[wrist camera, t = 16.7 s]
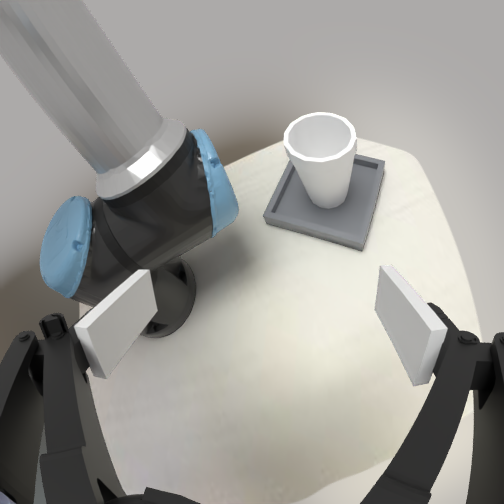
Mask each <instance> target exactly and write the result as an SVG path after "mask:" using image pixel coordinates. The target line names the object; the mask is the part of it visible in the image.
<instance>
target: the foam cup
mask: <svg viewBox="0 0 504 504" xmlns="http://www.w3.org/2000/svg"><path fill="white" fill-rule="evenodd" d="M284 146H285V149H286V153H287V156H288V157H289V159H290V160H291V162H292V163H293V165H294V167H295V169H296V171H297V173H298V175H299V177H300V179H301V181H302V183H303V185H304V187H305V189H306V191H307V193H308V195H309V197H310V199H311V200H312V202H313V203H314V204H315V205H317V206H319V207H320V208H327V209H330V208H334V207H338V206H339V205H340V204H342V203H343V202H344V201H345V198H346V196H347V193H348V188H349V183H350V178H351V172H352V167H353V161H354V156H355V154H356V151H357V139H356V134H355V129H354V127H353V125H352V124H350V122H348V121H347V119H346V118H343V117H341V116H338V115H336V114H333V113H323V112H316V113H312V114H308V115H303V116H301V117H300V118H298V119H297V120H295V121H293V122H292V123H291V124H290V125H289V126H288V128H287V130H286V131H285V132H284Z"/></svg>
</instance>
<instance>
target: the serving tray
mask: <svg viewBox="0 0 504 504" xmlns="http://www.w3.org/2000/svg"><path fill="white" fill-rule="evenodd" d="M384 166H385V161H383V160H379V159H375V158H370V157H366V156H362V155H357V154H355V156H354V161H353V167H352V172H351V178H350V183H349V188H348V193H347V196H346V198H345V201H344V202H343V203H342V204H340V205H339V206H338V207H334V208H330V209H327V208H320V207H319V206H317V205H315V204H314V203H313V202H312V200H311V199H310V197H309V195H308V193H307V191H306V189H305V187H304V185H303V183H302V181H301V179H300V177H299V175H298V173H297V171H296V169H295V167H294V165H293V163H292V162H291V160H289V162H288V164H287V167H286V169H285V171H284V173H283V175H282V177H281V179H280V181H279V183H278V185H277V187H276V189H275V191H274V194H273V196H272V198H271V200H270V202H269V204H268V206H267V208H266V210H265V212H264V214H263V217H264V219H265V221H266V223H267V224H270V225H274V226H277V227H281V228H285V229H288V230H292V231H295V232H299V233H302V234H306V235H309V236H313V237H316V238H320V239H323V240H326V241H330V242H333V243H337V244H340V245H343V246H347V247H350V248H353V249H357V250H360V251H362V250H363V247H364V244H365V241H366V237H367V234H368V230H369V227H370V224H371V220H372V216H373V213H374V209H375V205H376V201H377V198H378V194H379V190H380V185H381V181H382V177H383V173H384Z"/></svg>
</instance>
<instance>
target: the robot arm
mask: <svg viewBox="0 0 504 504" xmlns="http://www.w3.org/2000/svg"><path fill="white" fill-rule="evenodd" d="M0 55H1V56H2V58H3V59H4V60H5V62H6V63H7V65H8V66H9V67H10V68H11V70H12V71H13V73H14V74H15V75H16V77H17V78H18V79H19V81H20V82H21V83H22V85H23V86H24V87H25V88H26V90H27V91H28V92H29V93H30V95H31V96H32V97H33V99H34V100H35V101H36V102H37V103H38V104H39V106H40V107H41V108H42V110H43V111H44V112H45V113H46V114H47V116H48V117H49V118H50V119H51V120H52V122H53V123H54V124H55V125H56V127H58V129H59V130H60V131H61V132H62V134H63V135H64V136H65V137H66V138H67V139H68V141H69V142H71V144H72V145H73V146H74V147H75V149H76V150H77V151H78V152H79V153H80V154H81V155H82V157H83V158H84V159H85V160H86V161H87V162H88V163H89V164H90V165H91V166H92V168H93V169H94V170H95V171H96V173H97V177H96V192H97V195H98V196H99V197H98V198H97V199H96V200H95V201H93V202H91V203H90V201H89V200H88V199H87V198H85V197H81V196H74V197H71V198H70V199H68V200H67V201H65V202H64V203H63V204H62V205H61V206H60V208H59V209H58V210H57V212H56V213H55V215H54V216H53V218H52V220H51V222H50V224H49V226H48V228H47V230H46V234H45V236H44V240H43V243H42V248H41V253H40V270H41V274H42V278H43V280H44V281H45V283H46V284H47V285H48V286H49V287H50V288H51V289H53V290H55V291H57V292H60V293H61V294H62V295H63V296H64V297H66V298H71V299H73V300H76V301H78V302H81V303H83V304H86V305H89V306H91V307H94V308H92V309H90V310H89V311H88V312H87V313H86V314H85V315H83V316H82V317H81V318H80V319H79V320H78V321H77V322H76V323H75V324H74V325H72V326H71V327H70V328H69V329H68V327H67V324H66V321H65V319H64V316H63V315H62V314H61V313H54V314H50V315H47V316H46V317H44V318H43V319H42V320H40V322H39V325H40V327H41V330H42V332H43V334H44V337H45V340H37V337H36V335H35V333H34V332H33V331H23V332H21V333H19V335H17V336H16V337H15V339H14V340H13V342H12V343H11V345H10V347H9V349H8V351H7V352H6V354H5V356H4V358H3V360H2V362H1V364H0V504H33V502H34V494H35V481H36V472H37V463H38V456H39V449H40V442H41V437H42V432H43V426H44V423H45V435H46V445H47V454H42V455H41V456H40V469H41V476H42V482H43V487H44V493H45V498H46V503H47V504H200V503H198V502H195V501H193V500H190V499H188V498H186V497H183V496H181V495H177V494H173V493H168V492H164V491H160V490H156V489H152V488H149V487H146V490H145V492H144V494H136V495H126V494H125V492H124V490H123V489H122V487H121V485H120V482H119V480H118V477H117V475H116V472H115V469H114V467H113V464H112V461H111V458H110V455H109V453H108V450H107V447H106V443H105V440H104V437H103V434H102V430H101V427H100V424H99V420H98V416H97V413H96V409H95V405H94V401H93V396H92V392H91V387H90V383H89V378H88V375H87V373H86V370H87V369H88V368H89V366H90V368H91V371H92V373H93V375H94V376H96V377H100V378H104V379H107V378H108V377H109V375H110V374H111V372H112V371H113V370H114V368H115V367H116V366H117V364H118V363H119V361H120V360H121V359H122V357H123V356H124V355H125V353H126V352H127V351H128V349H129V348H130V347H131V345H132V344H133V343H134V341H135V340H136V339H137V337H138V336H139V335H143V336H147V337H151V338H158V337H163V336H166V335H169V334H171V333H172V332H174V331H175V330H177V329H178V328H179V327H180V326H181V325H182V324H183V323H184V322H185V320H186V319H187V317H188V316H189V314H190V312H191V309H192V307H193V304H194V300H195V293H196V285H195V279H194V275H193V273H192V270H191V269H190V267H189V266H188V264H187V263H186V262H185V261H184V260H182V259H181V258H180V257H179V256H180V255H182V254H184V253H185V252H187V251H189V250H190V249H192V248H194V247H195V246H197V245H199V244H200V243H202V242H204V241H206V240H207V239H209V238H213V237H214V236H215V235H216V233H217V232H219V231H220V230H222V229H223V228H225V227H226V226H228V225H229V224H231V223H232V222H233V221H234V220H235V218H236V217H237V215H238V211H239V208H238V203H237V199H236V196H235V194H234V191H233V188H232V186H231V183H230V181H229V179H228V176H227V174H226V172H225V170H224V167H223V166H222V164H221V163H220V160H219V157H218V155H217V153H216V150H215V148H214V146H213V144H212V142H211V140H210V139H209V137H208V135H207V134H206V132H205V131H204V130H202V129H198V130H193V131H190V132H189V131H188V129H187V128H186V126H185V124H184V123H183V122H182V121H180V120H175V119H168V118H163V117H161V115H160V114H159V112H158V111H157V109H156V108H155V106H154V105H153V103H152V102H151V100H150V99H149V97H148V96H147V94H146V93H145V92H144V90H143V89H142V87H141V86H140V84H139V83H138V81H137V80H136V79H135V77H134V75H133V74H132V72H131V71H130V69H129V68H128V67H127V65H126V64H125V62H124V61H123V59H122V58H121V56H120V55H119V53H118V52H117V50H116V49H115V47H114V46H113V45H112V43H111V41H110V40H109V39H108V37H107V36H106V34H105V33H104V31H103V30H102V28H101V27H100V25H99V24H98V22H97V21H96V19H95V18H94V17H93V15H92V14H91V12H90V11H89V9H88V8H87V6H86V5H85V3H84V2H83V1H82V0H0ZM375 311H376V313H377V315H378V317H379V319H380V320H381V322H382V324H383V326H384V328H385V330H386V332H387V334H388V336H389V338H390V340H391V341H392V343H393V345H394V347H395V349H396V351H397V353H398V355H399V357H400V359H401V361H402V363H403V366H404V368H405V370H406V372H407V374H408V376H409V378H410V380H411V382H412V385H413V386H417V385H422V384H427V383H429V381H430V379H431V376H432V373H434V375H435V377H436V379H435V381H434V383H433V386H432V388H431V390H430V392H429V394H428V397H427V399H426V401H425V403H424V405H423V407H422V409H421V411H420V413H419V415H418V417H417V419H416V421H415V422H414V424H413V426H412V428H411V430H410V431H409V433H408V435H407V437H406V438H405V440H404V442H403V444H402V445H401V447H400V449H399V450H398V452H397V453H396V455H395V457H394V458H393V460H392V461H391V463H390V464H389V466H388V467H387V469H386V470H385V472H384V473H383V475H381V477H380V478H379V480H378V481H377V482H376V484H375V485H374V486H373V488H372V489H371V490H370V492H369V493H368V494H367V495H366V497H365V498H364V499H363V501H362V502H361V503H360V504H428V502H429V500H430V498H431V493H430V490H431V488H432V486H433V484H434V482H435V480H436V478H437V476H438V474H439V472H440V470H441V467H442V465H443V463H444V461H445V459H446V456H447V454H448V451H449V449H450V447H451V444H452V442H453V439H454V436H455V434H456V431H457V428H458V426H459V423H460V420H461V417H462V414H463V411H464V408H465V404H466V401H467V398H468V394H469V390H473V397H474V438H473V455H472V465H471V474H470V482H469V489H468V495H467V500H466V504H504V332H501V333H497V334H496V335H495V336H494V339H493V342H492V343H480V341H479V339H478V337H477V336H476V335H474V334H473V333H470V332H468V331H459V330H458V328H457V327H456V326H455V325H454V324H453V323H452V321H451V320H450V319H448V317H447V316H446V314H444V312H443V311H442V310H441V309H440V308H439V307H438V306H436V305H434V304H433V303H426V302H425V301H424V300H423V298H422V297H421V296H420V295H419V294H418V293H417V292H416V290H415V289H414V288H413V287H412V286H411V285H410V284H409V283H408V282H407V280H406V279H405V278H404V277H403V276H402V275H401V274H400V273H399V272H398V271H397V270H396V269H395V267H394V266H393V265H383V266H380V270H379V280H378V288H377V296H376V303H375Z"/></svg>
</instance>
